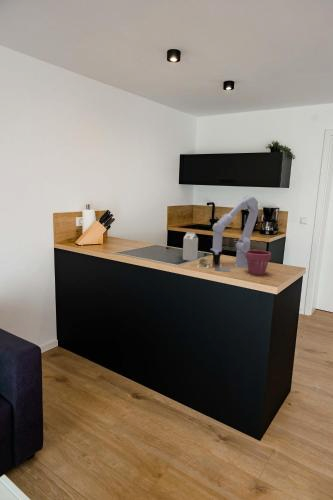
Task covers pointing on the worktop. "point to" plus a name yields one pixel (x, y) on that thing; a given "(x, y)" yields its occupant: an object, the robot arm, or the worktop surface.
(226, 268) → the slate coaster
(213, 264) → the walnut block
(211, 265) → the code tile
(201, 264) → the oak block
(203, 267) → the code tile
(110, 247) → the worktop surface
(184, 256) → the milk carton
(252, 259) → the plant pot
